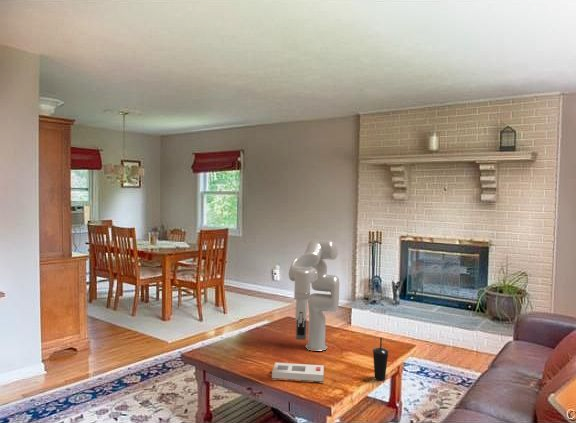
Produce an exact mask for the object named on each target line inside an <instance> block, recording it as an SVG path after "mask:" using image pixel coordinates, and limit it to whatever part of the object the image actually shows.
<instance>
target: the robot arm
mask: <svg viewBox="0 0 576 423" xmlns="http://www.w3.org/2000/svg"><path fill="white" fill-rule="evenodd" d="M338 252H339V249H338V246H337V244H336V243H335V242H334V241H332V240H329V239H312V240H310V241H309V242H308V244H307V247H306V249H305V252H304V254H302V255H299V256H298V257H296V258H295V259H293V261H292V262H291V264H290V267H289V270H288V278H289V280H290V281H291V282H294V290H293V291H294V292H293V295H294V300H295V316H294V318H295V321H296V322H297V320H298V335H304V321H305V320H306V318H307V313H308V338H307V339H308V340H307V342H308V343H306V345H305V347H306V348H307V349H309V350H315V351H322V350H326V349H327V348H328V345H326V320H327V319H326V316H325V313H323V312H329V313H330V312H331V313H334V312H337V311H338V310H339V305H340V302H339V299H340V280H339V277H338V276H337V275H334V274H328V266H327V263H326V262H325V260H333V261H334V260H335V259H337V257H338V254H339V253H338ZM311 289H312V290H314V291H317V292H315V293H314V292H313V293H311ZM319 292H326V293H319ZM327 292H329V293H330V294H329V293H328V294H327ZM299 319H300V320H299ZM302 319H303V320H302ZM306 348H305V349H306ZM307 349H306V350H307ZM309 350H308V351H309ZM327 350H328V349H327ZM327 350H326V351H327Z"/></svg>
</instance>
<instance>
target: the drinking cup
mask: <svg viewBox="0 0 576 423" xmlns="http://www.w3.org/2000/svg"><path fill="white" fill-rule="evenodd" d="M379 338H380V339H379V340H380V341H379V347H375V348H373V349H372V353H373V354H372V355H373V369H374V379H375V378H376V379H375V380H377V381H378V382H379V381H381V382H382V381H383V382H384V381H385V380H386V375H387V374H386V373H387V367H388V358H389V357H388V356H389V353H390V351H389V350H388V349H386V348H384V347H382V340H383V337H381V336H380V337H379Z"/></svg>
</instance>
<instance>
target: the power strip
mask: <svg viewBox="0 0 576 423" xmlns="http://www.w3.org/2000/svg"><path fill="white" fill-rule="evenodd" d="M324 369H325V365H323V364H322V365H319V364H306V363H290V362H274V365H273V368H272V371H271V380H272V379H289V380H301V381H313V382H323V383H324V374H325V370H324Z"/></svg>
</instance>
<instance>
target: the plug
mask: <svg viewBox="0 0 576 423" xmlns="http://www.w3.org/2000/svg"><path fill="white" fill-rule="evenodd" d="M299 320H300V319H299ZM302 320H303V319H302ZM295 334H296V336H295V339H296V340H303V341H305V340H307V317H306V320H305V321H304V335H298V320H297V321H296V332H295Z"/></svg>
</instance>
